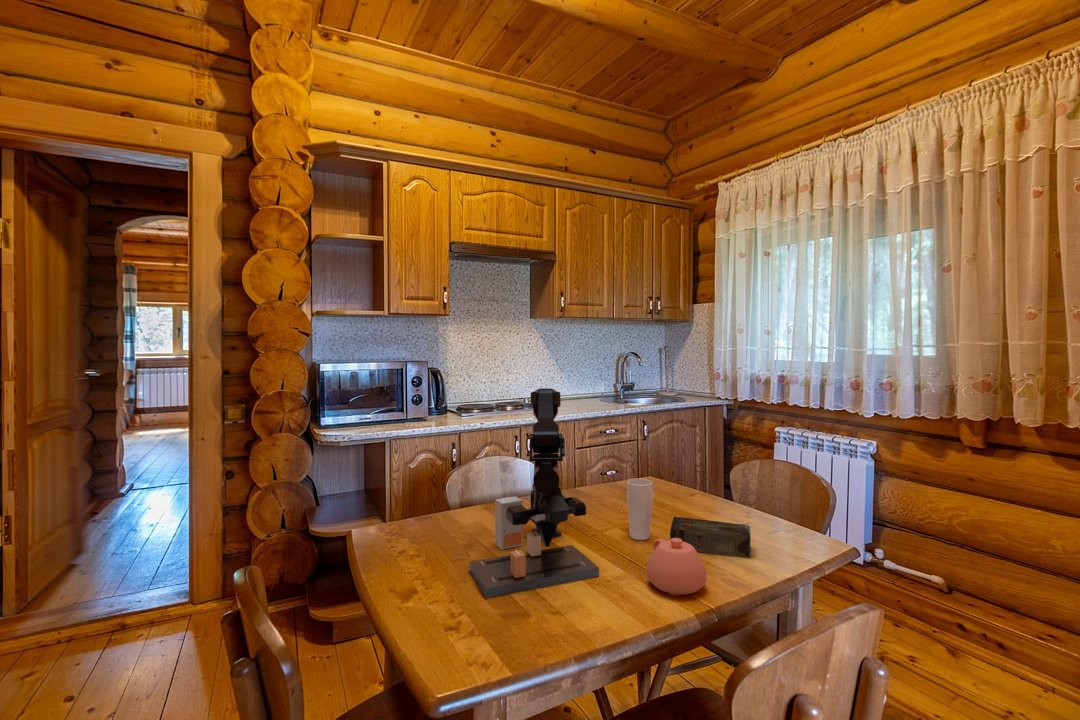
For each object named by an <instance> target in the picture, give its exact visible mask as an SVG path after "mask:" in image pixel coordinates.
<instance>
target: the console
mask: <svg viewBox="0 0 1080 720" xmlns="http://www.w3.org/2000/svg"><path fill="white" fill-rule="evenodd" d="M523 553H524V554H525V555H526V576H523V577H517V578H515V577H514V576H513V575H512V573H511V565H510V554H509V555H504V556H503V555H501V556H496V557H490V558H486V559H479V560H473V561H469V563H468V564H469V566H468V567H469V572H470V573H471V576H472V577H473V579H474V581H475V582H476V584H477V585H478V588H479V589H480V591H481V592H482V593H483V596H484V597H485V599H489V598H490V599H491V598H494V597H499V596H504V595H505V596H506V595H510V594H516V593H521V592H527V591H529V590H530V591H531V590H535V589H540V588H545V587H552V586H556V585H561V584H562V585H563V584H568V583H572V582H578V581H582V580H588V579H594V578H598V577H600V567H599V566H597V564H595V563H594V562H593V561H592V560H591V559H589V558H588V557H587V556H586V555H585V554H583V552H581V550H579V549H578V548H576V547H575V546H574V545H573V544H570V545H564V546H558V547H551V548H547V549H545V548H544V549H541V555H537V556H531V555H530V554H529V553H528V552H527V551H526V552H523Z"/></svg>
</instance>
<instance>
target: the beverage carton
mask: <svg viewBox="0 0 1080 720" xmlns="http://www.w3.org/2000/svg"><path fill="white" fill-rule="evenodd" d="M669 536H670V537H669V538H670V539H671V538H679V539H681V540H682V541H683V542H686V543H689V544H690V545H692V546H693V547H694V548H695V550H696V551H697V553H698V552H699V553H705V554H713V555H722V556H727V557H737V558H746V559H751V551H752V550H751V549H752V547H751V537H752V536H751V526H750V525H747V524H746V523H745V524H744V523H741V524H740V523H733V522H731V523H730V522H725V521H718V520H708V519H701V518H691V517H684V516H683V517H682V516H673V519H672V522H671V526H670V532H669ZM670 539H669V540H670Z"/></svg>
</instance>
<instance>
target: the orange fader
mask: <svg viewBox="0 0 1080 720" xmlns="http://www.w3.org/2000/svg"><path fill="white" fill-rule="evenodd" d="M524 553H525V552H523V551H522V550H521V549H519V550H516V549H515V550H513V551H510V554H509V555H510V565H511V573H512V575H513V576H514V577H515V578H517V577H523V576H526V555H525V554H524Z"/></svg>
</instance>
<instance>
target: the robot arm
mask: <svg viewBox="0 0 1080 720" xmlns="http://www.w3.org/2000/svg"><path fill="white" fill-rule="evenodd" d="M561 400H562V399H561V392H559V391H557V390H555V389H553V388H551V387H549V388H548V387H546V388H543V387H542V388H538V389H536V390H534V391H532V392H530V408H532V410H533V411H532V412H533V416H534V417H535V419H536V421H537V422H535V423H534V424H533V425H532V433H530V434H529V462H533V479H532V490H530V508H526V507H525V506H524V504H522V505H517V506H510V507H508V508H507V510H506V519H507V520H508V521H509V522H511V523H512V524H513V525H522V526H523V525H527V524H528V523H529V522H530V521H531V522H532V523H533V524H534V525H535V528H531V532H537V533H538V534H540V535H541V541H542V543H543V545H544V547H545V548H548V547H549V548H550V546H551V543H552V542H551V541H552V539H553V537H558V536H562V532H561V531H559V530H558V525H559V524H560V523H562V522H566V521H568V519H569V515H573V516H575V517H581V516H586V515H587V505H586V504H585V502H583V501H582V500H581V499H579V498H576V497H574V496H569V497H565V496H564V494H563V492H562V490H561V487H560V473H559V462H563V461H564V459H563V458H564V457H566V447H565V446H566V445H565V437H564V435H563V433H560V425H559V424H558V423H556V422H555V419H556V418H557V416H558V413H559V408H561V406H562V405H561Z"/></svg>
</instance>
